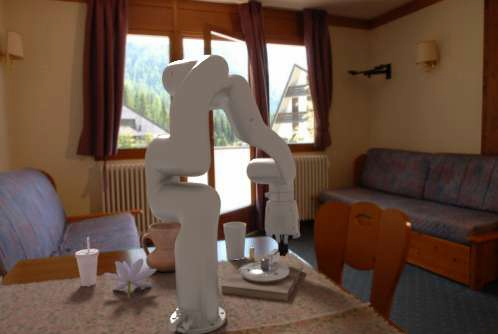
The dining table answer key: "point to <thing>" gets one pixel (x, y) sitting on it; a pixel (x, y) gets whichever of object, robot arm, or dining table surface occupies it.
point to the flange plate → (271, 275)
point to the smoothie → (87, 265)
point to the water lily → (131, 275)
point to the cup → (235, 239)
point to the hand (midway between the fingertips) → (283, 254)
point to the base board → (263, 285)
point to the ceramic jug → (161, 246)
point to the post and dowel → (263, 261)
